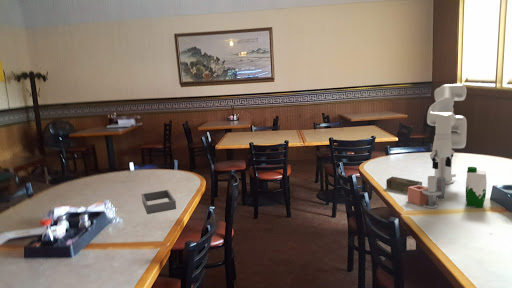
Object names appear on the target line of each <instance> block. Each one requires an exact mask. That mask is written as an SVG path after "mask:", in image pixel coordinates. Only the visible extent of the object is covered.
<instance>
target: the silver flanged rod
mask: <svg viewBox="0 0 512 288" xmlns="http://www.w3.org/2000/svg"><path fill="white" fill-rule="evenodd" d="M426 187H427V189H426V190H427V191H424V190H425V189H424V190H422V193H423V194H425V195H427V203H425V204H423V206H424V207H425V208H427V209H428V208H429V209H437V208H438V207H439V205H438V204H436V199H437V198H436V196H438V195H441V191H439V190H437V183H436V176H434V175H428V176H427V186H426Z"/></svg>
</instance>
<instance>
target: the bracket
mask: <svg viewBox="0 0 512 288" xmlns="http://www.w3.org/2000/svg"><path fill="white" fill-rule="evenodd" d="M424 189H425V190H424ZM426 189H427V186H424V185H422V186H421V185H416V186H411V187H408V192H407V202H410V203H412V204H415V205H418V206H422V205H423V206H424V204H425V203H427V195H425V194H423V193H422V190H424V191H427V190H426Z"/></svg>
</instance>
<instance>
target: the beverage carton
mask: <svg viewBox="0 0 512 288" xmlns="http://www.w3.org/2000/svg"><path fill="white" fill-rule="evenodd" d="M385 182H386V185H385V187H386V189H389V190H394V191H398V192H403V191H404V193H408V187H411V186H416V185H421V186H423V181H419V180H415V179H414V180H413V179H408V178H404V177H403V178H402V177H397V176H391V177H389V178H387V179H386V181H385Z"/></svg>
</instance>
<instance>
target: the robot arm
mask: <svg viewBox="0 0 512 288" xmlns="http://www.w3.org/2000/svg"><path fill="white" fill-rule="evenodd" d="M467 91H468V90H467V87H466V85H465V84H463V83H453V84H452V83H451V84H449V83H448V84H442V85H441V86H440V87H437V88H436V89H435V90H434V100H435V102H434V103H432V104H431V105H430V106H429V108H428V110H427V115H426V122H427V124H428V125H429V126H432V127H434V126H435V135H434V139H433V144H432V151H431V152H430V154H429V157H430V160H431V162H432V166H431V167H432V169H433V170H434V175H433V176H436V184H437V177H444V178H446V180H445V185H450V184H453V183H454V182H455V180H454V179H453V178H456V176H457V175H456V174H455V173H453V174H452V168H453V167H452V164H453V157H454V154H455V150H453V149H464V148H465V147H466V144H467V131H468V130H467V128H468V127H467V126H468V124H467V118H466V117H465V116H463V115H456V114H455V113H454V107H453V106H454V104H455V101H457V102H458V101H459V102H460V101H461V102H462V101H465V99H466V97H467Z"/></svg>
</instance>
